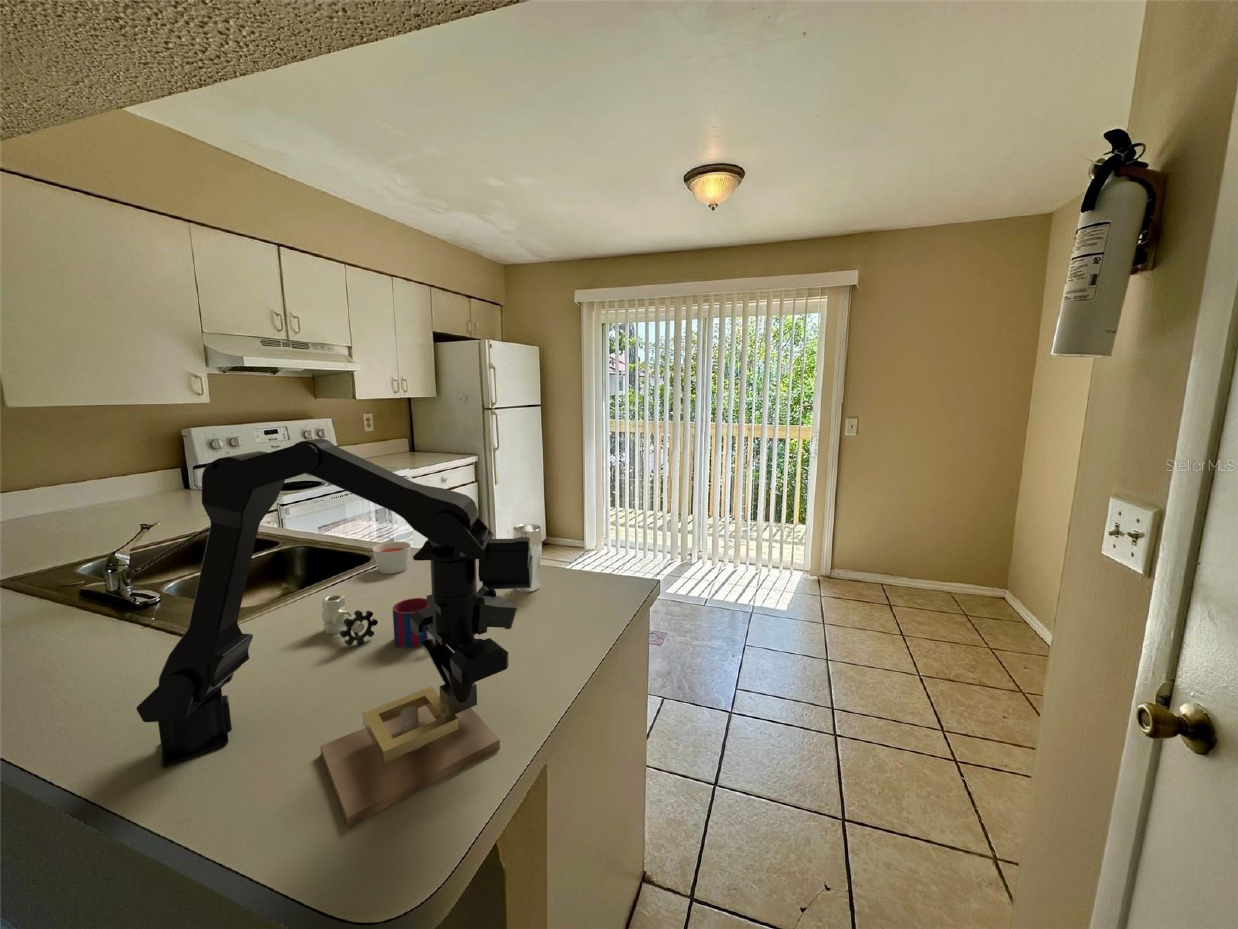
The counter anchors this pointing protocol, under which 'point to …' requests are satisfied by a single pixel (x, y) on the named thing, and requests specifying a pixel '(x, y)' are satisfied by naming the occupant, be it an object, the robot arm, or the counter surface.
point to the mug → (408, 622)
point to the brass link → (444, 724)
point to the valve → (345, 620)
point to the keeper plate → (400, 761)
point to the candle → (392, 557)
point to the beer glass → (536, 549)
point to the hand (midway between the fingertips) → (457, 696)
